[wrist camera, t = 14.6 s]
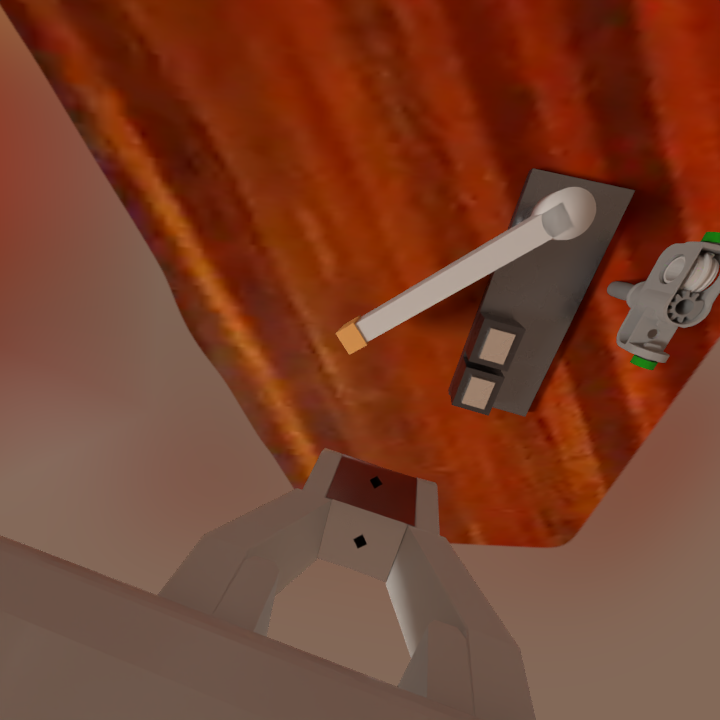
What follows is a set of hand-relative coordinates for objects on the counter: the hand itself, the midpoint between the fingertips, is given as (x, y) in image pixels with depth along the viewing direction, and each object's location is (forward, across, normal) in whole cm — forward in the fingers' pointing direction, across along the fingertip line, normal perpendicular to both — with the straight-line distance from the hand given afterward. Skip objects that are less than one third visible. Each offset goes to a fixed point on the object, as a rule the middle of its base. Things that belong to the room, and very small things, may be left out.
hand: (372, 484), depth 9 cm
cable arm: (+25, -2, -3) cm, 26 cm away
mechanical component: (+31, -19, -6) cm, 37 cm away
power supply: (+30, -9, +2) cm, 31 cm away
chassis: (+31, -12, -2) cm, 33 cm away
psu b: (+30, -9, +7) cm, 32 cm away
